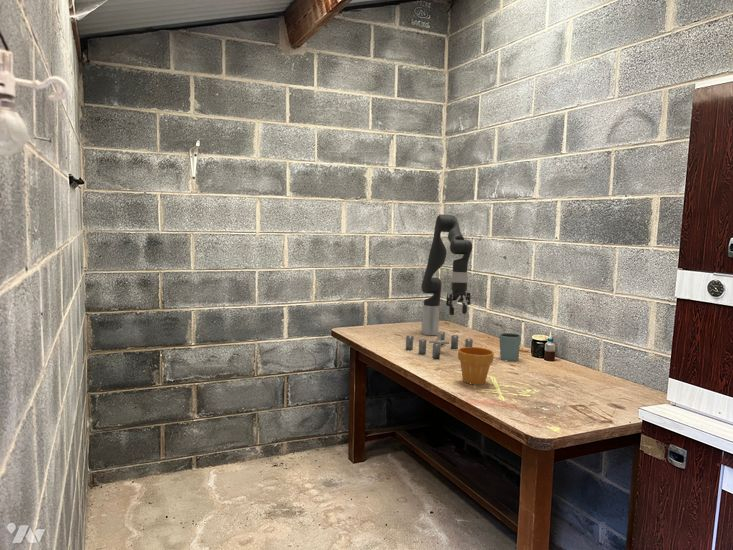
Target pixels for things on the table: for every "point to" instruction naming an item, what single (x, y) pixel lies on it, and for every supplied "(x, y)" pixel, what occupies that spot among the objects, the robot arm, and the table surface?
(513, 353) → the grey-blue tapered bin
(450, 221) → the robot arm
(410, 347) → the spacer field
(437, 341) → the pipe connector
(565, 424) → the table surface
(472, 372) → the flower pot
